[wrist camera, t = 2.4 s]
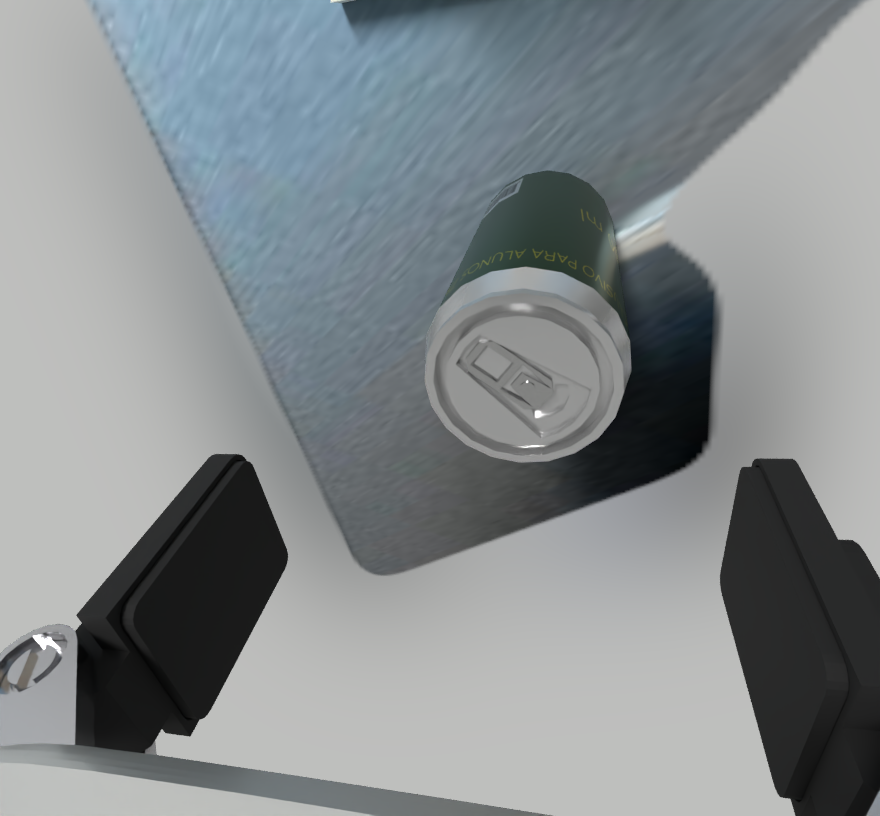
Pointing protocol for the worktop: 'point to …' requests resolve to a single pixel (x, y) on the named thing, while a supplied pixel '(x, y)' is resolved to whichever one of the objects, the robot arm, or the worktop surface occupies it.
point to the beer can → (533, 325)
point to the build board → (340, 1)
